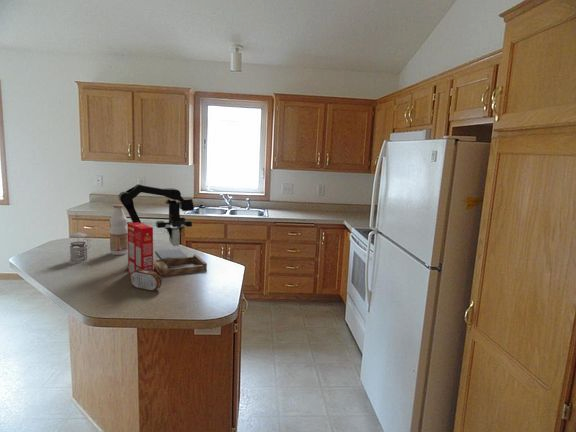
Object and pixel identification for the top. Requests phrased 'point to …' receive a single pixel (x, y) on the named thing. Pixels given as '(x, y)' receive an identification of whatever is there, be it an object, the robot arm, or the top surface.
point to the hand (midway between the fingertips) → (174, 238)
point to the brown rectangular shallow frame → (182, 270)
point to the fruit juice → (118, 232)
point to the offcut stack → (160, 267)
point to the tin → (145, 279)
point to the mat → (170, 254)
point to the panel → (174, 236)
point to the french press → (74, 251)
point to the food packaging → (140, 247)
